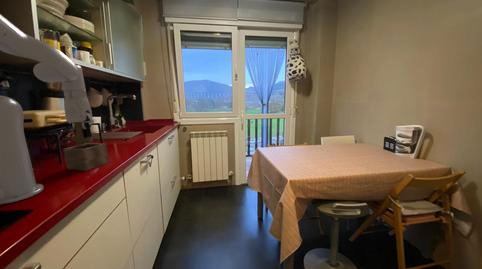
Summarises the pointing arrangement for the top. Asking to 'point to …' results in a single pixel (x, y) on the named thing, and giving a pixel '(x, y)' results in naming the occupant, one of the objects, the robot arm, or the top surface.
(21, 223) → the top surface
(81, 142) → the cork
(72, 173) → the top surface
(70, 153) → the walnut box
